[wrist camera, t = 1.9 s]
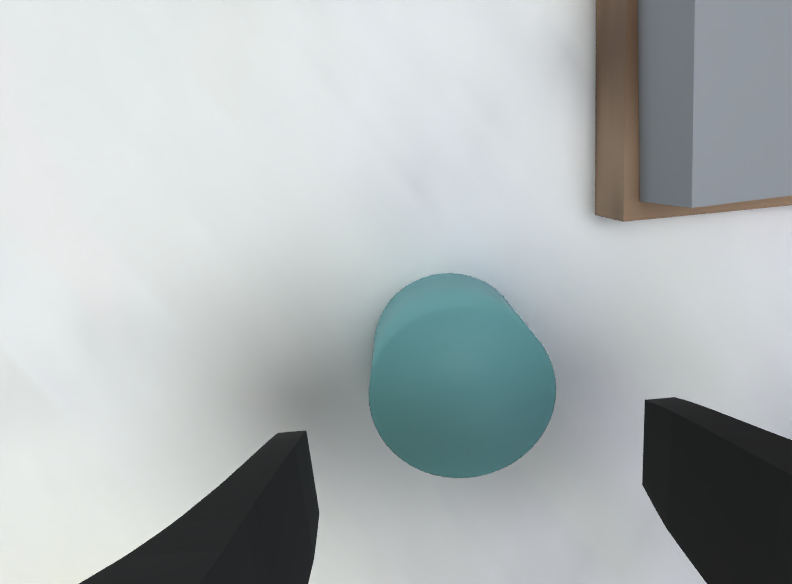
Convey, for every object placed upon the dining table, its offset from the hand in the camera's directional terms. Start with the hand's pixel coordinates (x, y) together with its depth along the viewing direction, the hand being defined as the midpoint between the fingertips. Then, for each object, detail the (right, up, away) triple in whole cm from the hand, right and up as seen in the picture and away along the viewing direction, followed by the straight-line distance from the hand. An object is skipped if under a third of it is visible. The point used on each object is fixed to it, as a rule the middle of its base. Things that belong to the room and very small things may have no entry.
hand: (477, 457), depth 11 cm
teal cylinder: (0, +2, +7) cm, 7 cm away
